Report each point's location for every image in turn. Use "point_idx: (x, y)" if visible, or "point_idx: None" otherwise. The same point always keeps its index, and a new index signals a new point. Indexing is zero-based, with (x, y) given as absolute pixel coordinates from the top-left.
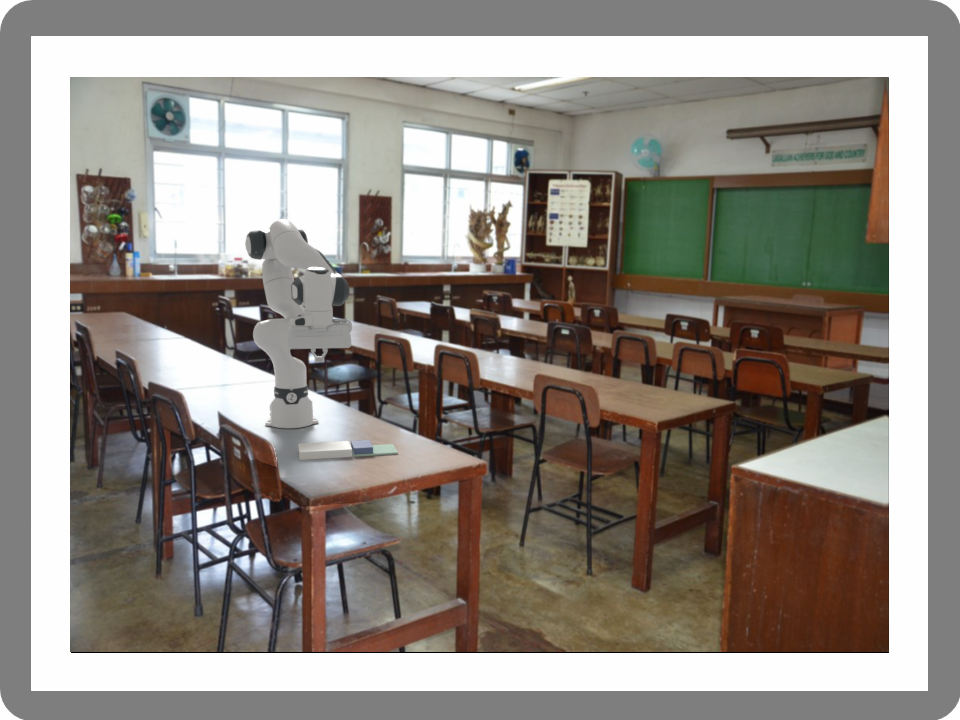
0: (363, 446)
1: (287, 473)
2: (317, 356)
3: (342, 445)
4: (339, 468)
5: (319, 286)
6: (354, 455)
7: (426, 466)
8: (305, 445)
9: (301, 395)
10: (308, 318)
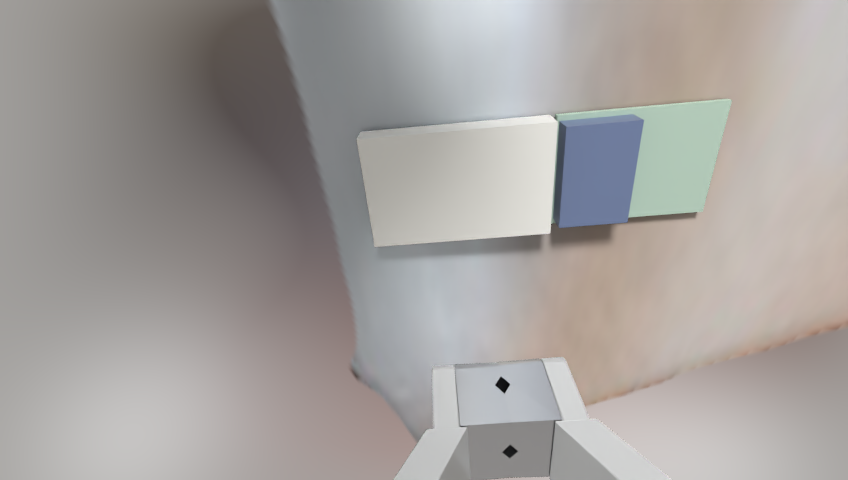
0: (596, 210)
1: (357, 330)
2: (482, 439)
3: (524, 184)
4: (493, 309)
5: None
6: (552, 222)
7: (728, 318)
8: (386, 168)
9: None
10: None
